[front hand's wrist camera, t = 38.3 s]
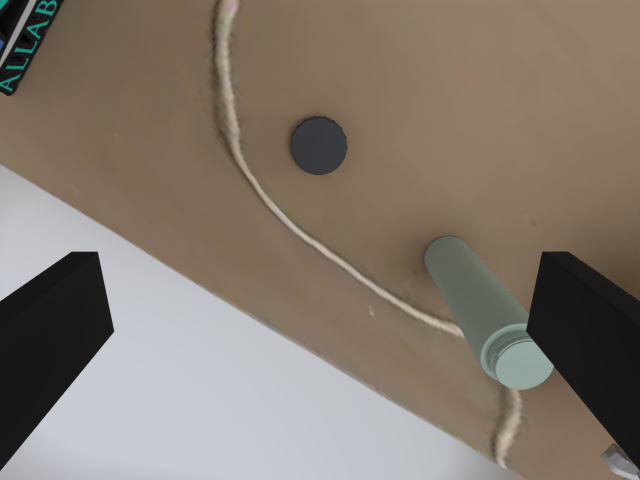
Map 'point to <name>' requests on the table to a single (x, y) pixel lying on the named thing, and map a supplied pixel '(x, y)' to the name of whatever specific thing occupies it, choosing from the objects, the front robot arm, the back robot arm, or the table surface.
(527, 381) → the bottle
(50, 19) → the decorative sign
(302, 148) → the lid
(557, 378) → the table surface
